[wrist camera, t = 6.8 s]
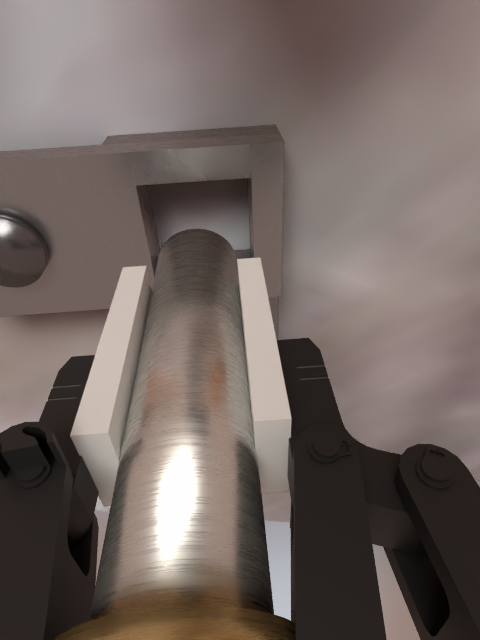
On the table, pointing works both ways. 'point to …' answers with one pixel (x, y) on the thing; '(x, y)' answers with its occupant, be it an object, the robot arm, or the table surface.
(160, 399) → the pin
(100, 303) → the chain end
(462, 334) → the table surface
